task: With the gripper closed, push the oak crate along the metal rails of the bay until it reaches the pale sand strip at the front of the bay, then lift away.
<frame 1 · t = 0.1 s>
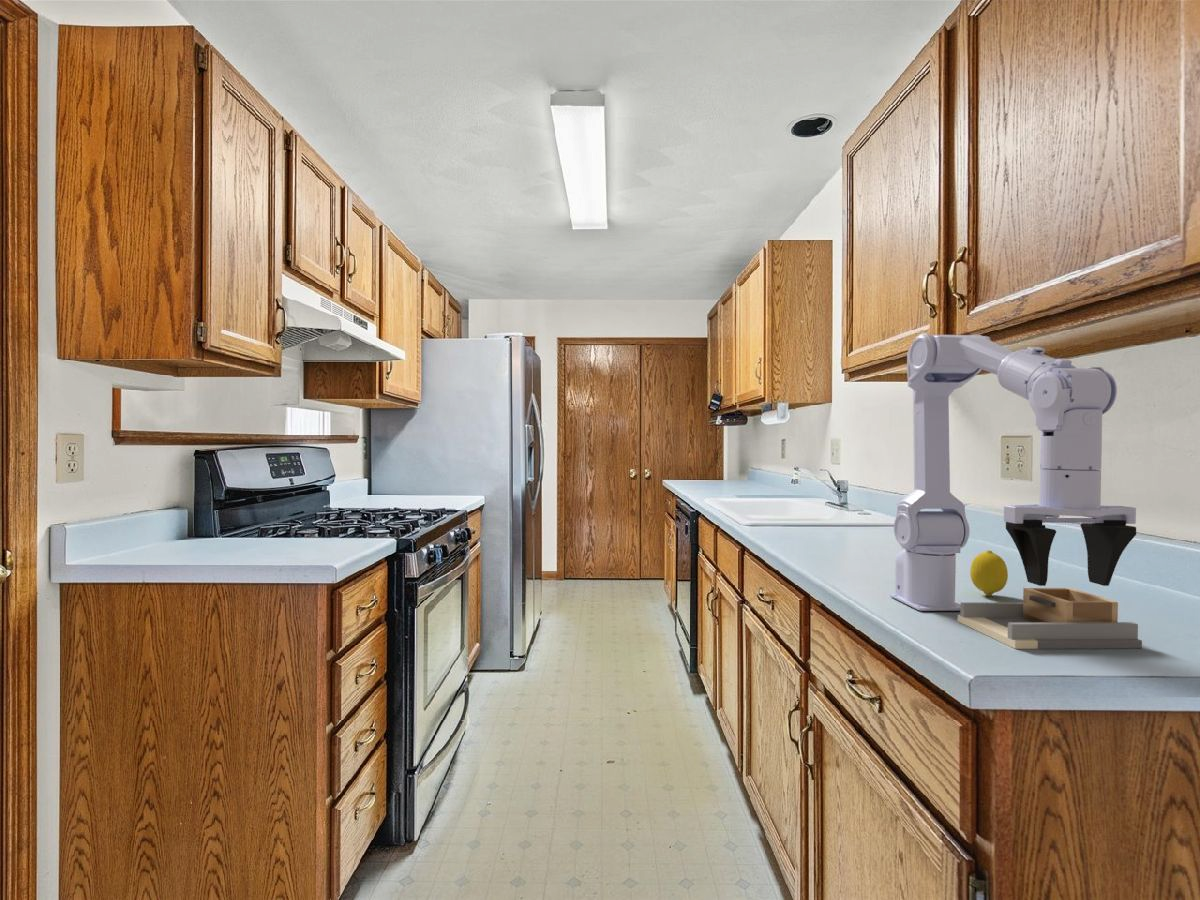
hand: (1067, 583, 72), 10 cm above the counter, tool pointing down, fingers open, 7 cm apart
lemon: (988, 597, 106), on the counter
bay: (1043, 633, 85), on the counter
crate: (1066, 610, 85), point 3 cm above the counter, slide at 0.0 cm
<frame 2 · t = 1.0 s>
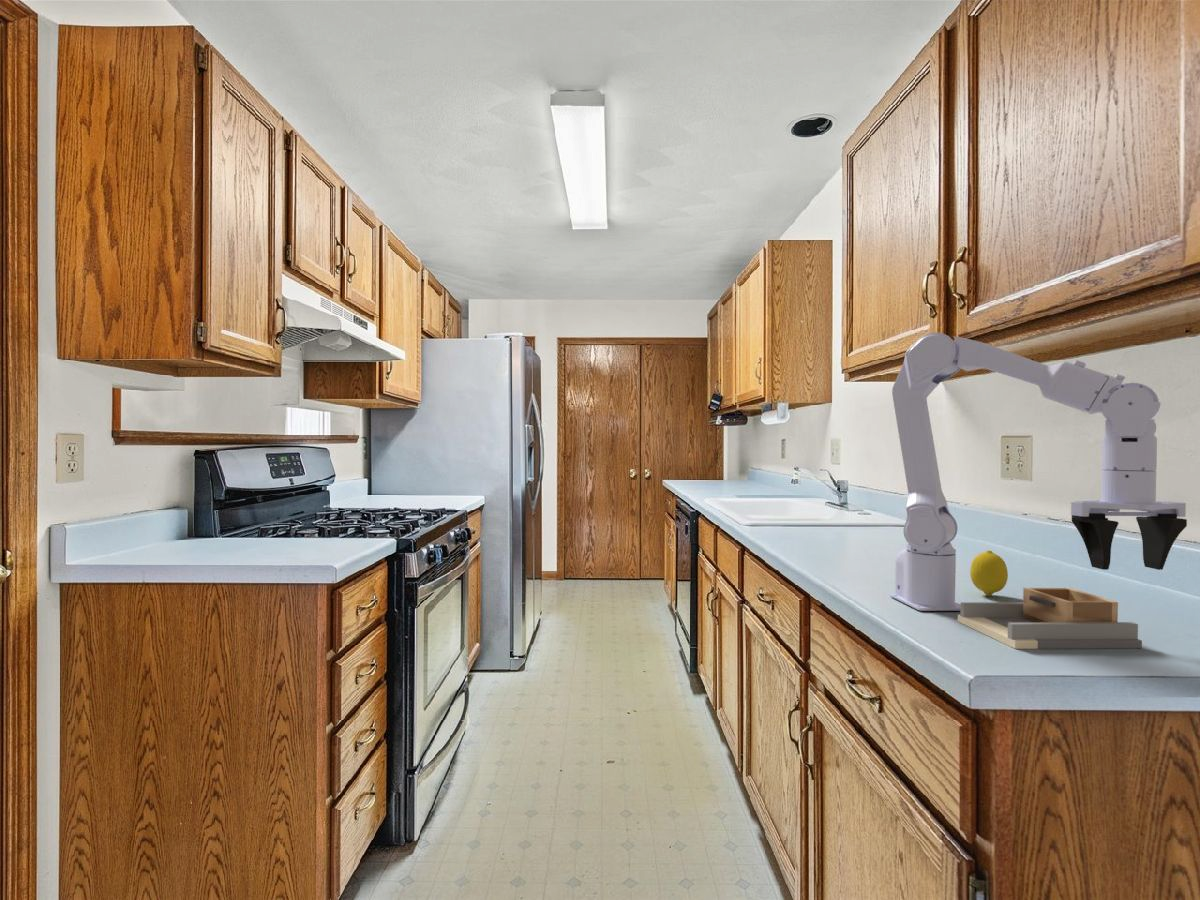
hand: (1126, 568, 84), 9 cm above the counter, tool pointing down, fingers open, 7 cm apart
nothing on the counter moved.
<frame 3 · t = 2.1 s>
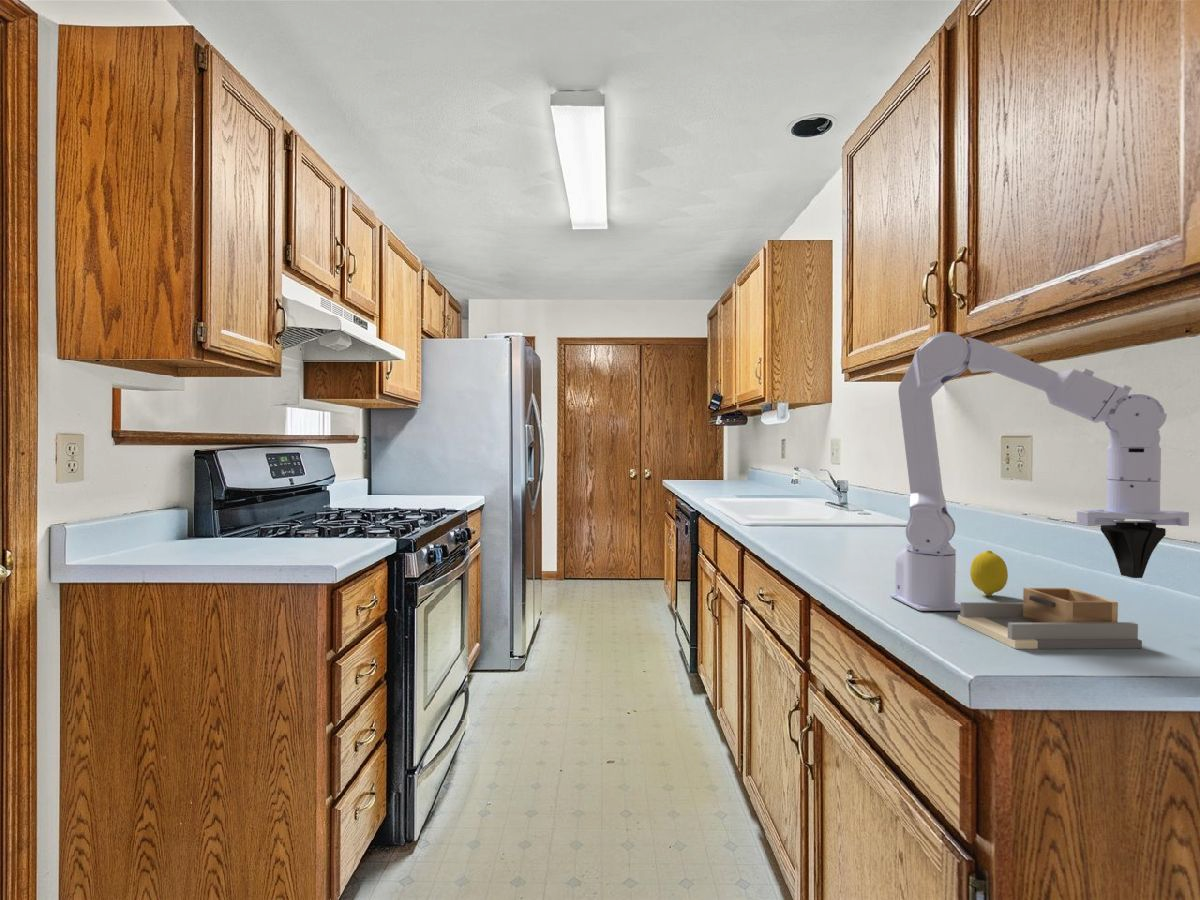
hand: (1131, 576, 85), 8 cm above the counter, tool pointing down, fingers closed
nothing on the counter moved.
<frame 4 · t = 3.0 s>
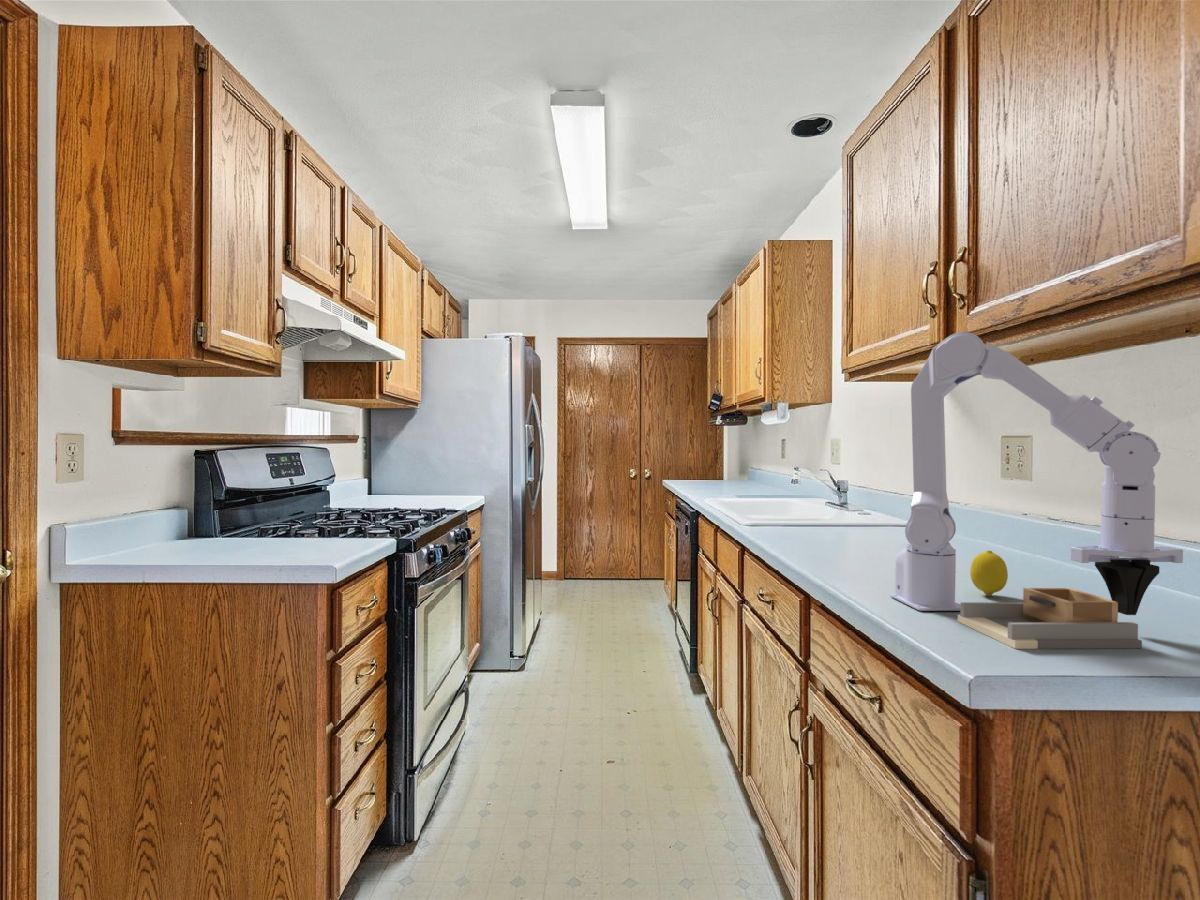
hand: (1125, 613, 85), 3 cm above the counter, tool pointing down, fingers closed
nothing on the counter moved.
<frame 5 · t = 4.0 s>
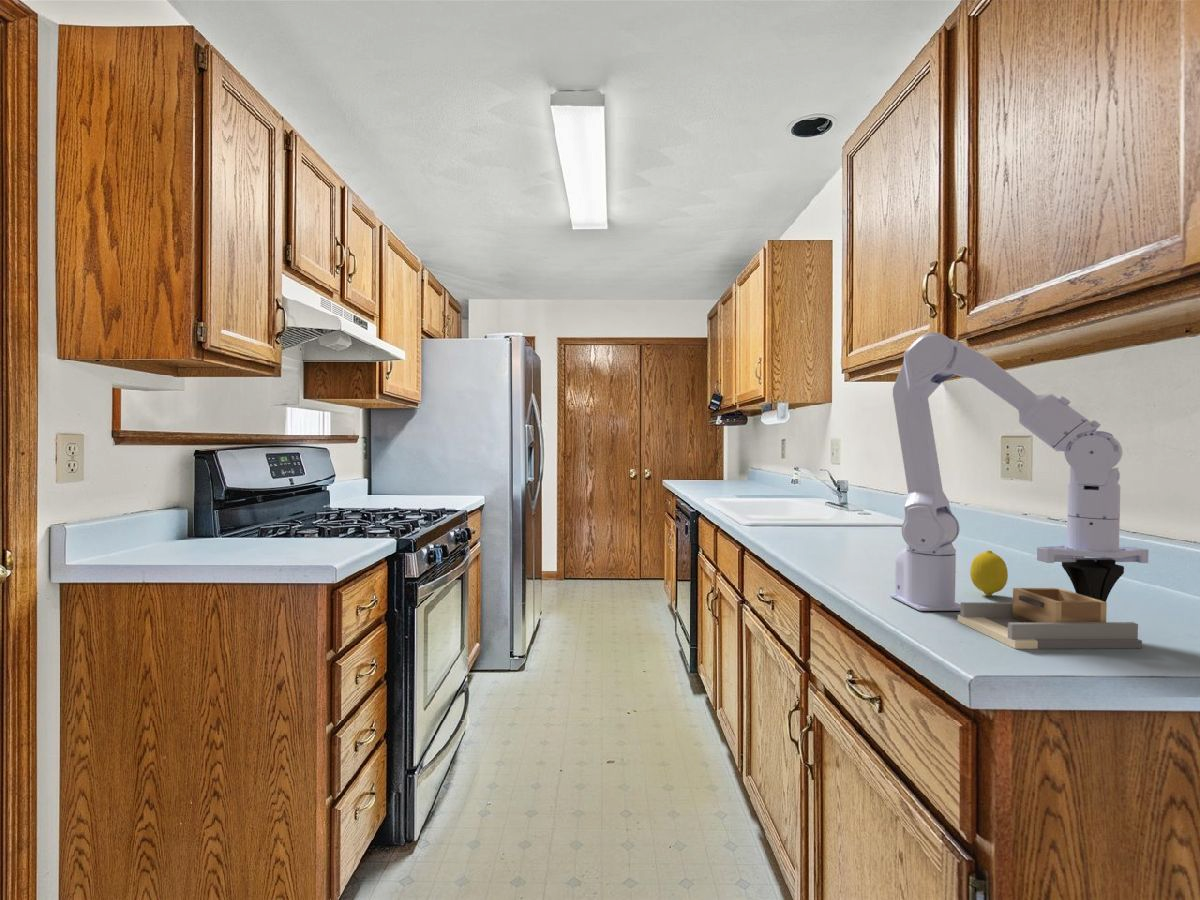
hand: (1091, 613, 85), 3 cm above the counter, tool pointing down, fingers closed
crate: (1055, 610, 85), point 3 cm above the counter, slide at 1.6 cm, touching gripper
everything else where it was.
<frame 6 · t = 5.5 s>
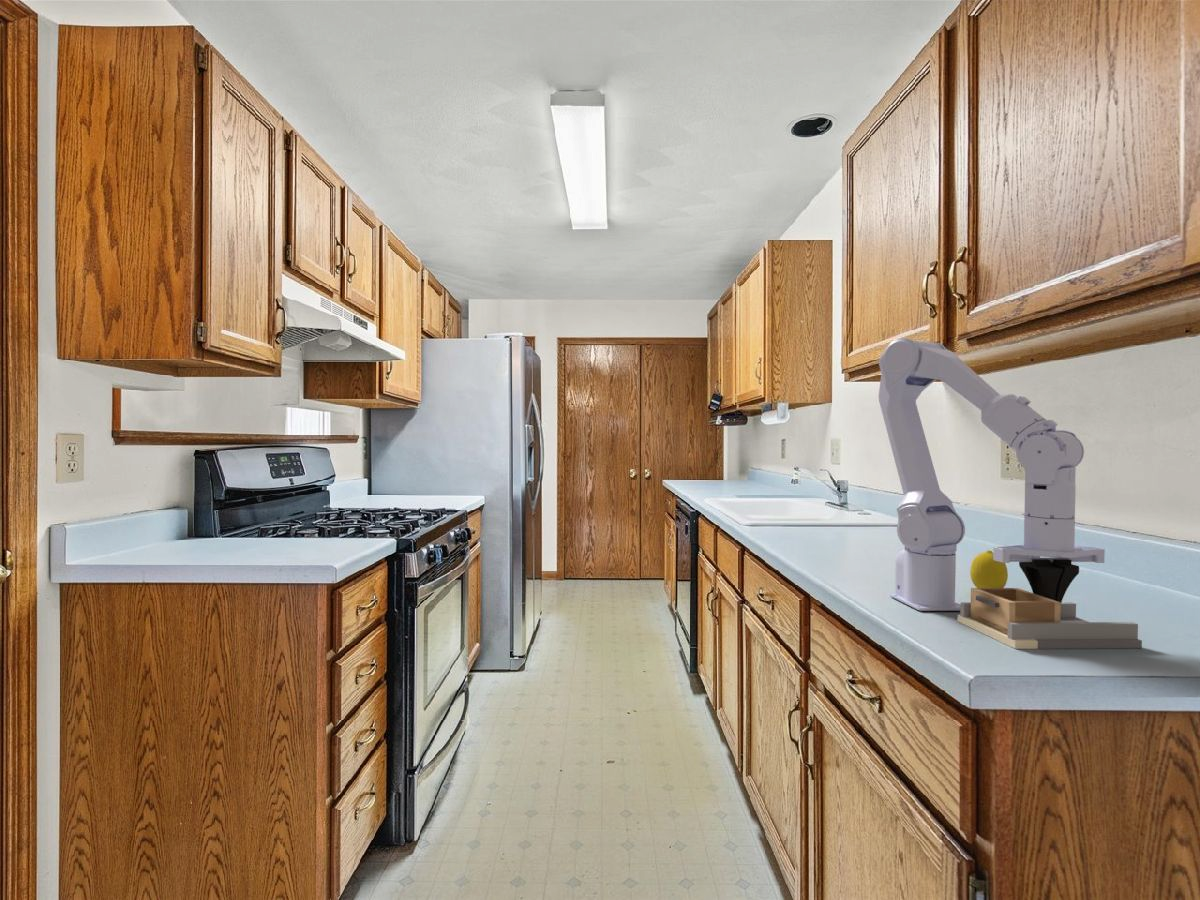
hand: (1047, 613, 85), 3 cm above the counter, tool pointing down, fingers closed
crate: (1011, 610, 85), point 3 cm above the counter, slide at 7.9 cm, touching gripper
everything else where it was.
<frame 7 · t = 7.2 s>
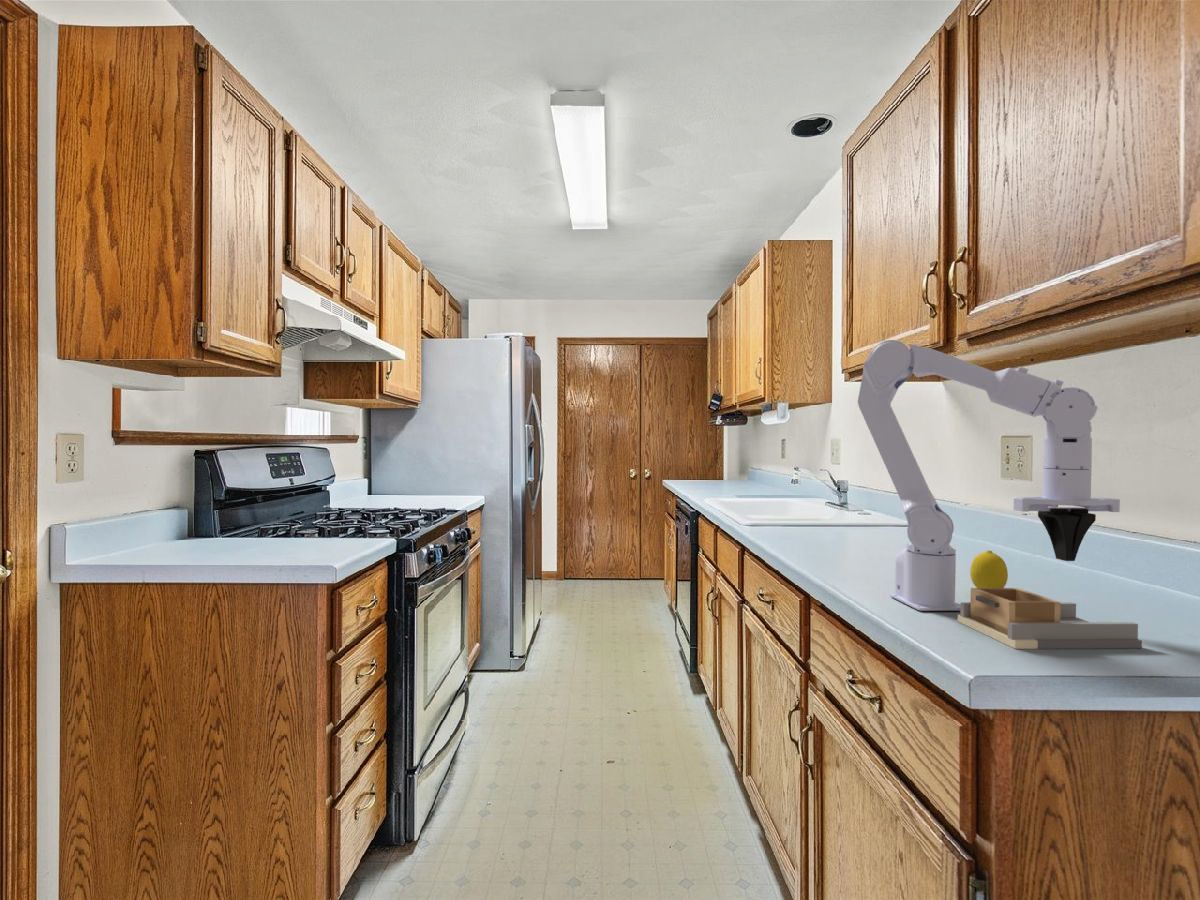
hand: (1065, 559, 91), 9 cm above the counter, tool pointing down, fingers closed
crate: (1011, 610, 85), point 3 cm above the counter, slide at 7.9 cm
everything else where it was.
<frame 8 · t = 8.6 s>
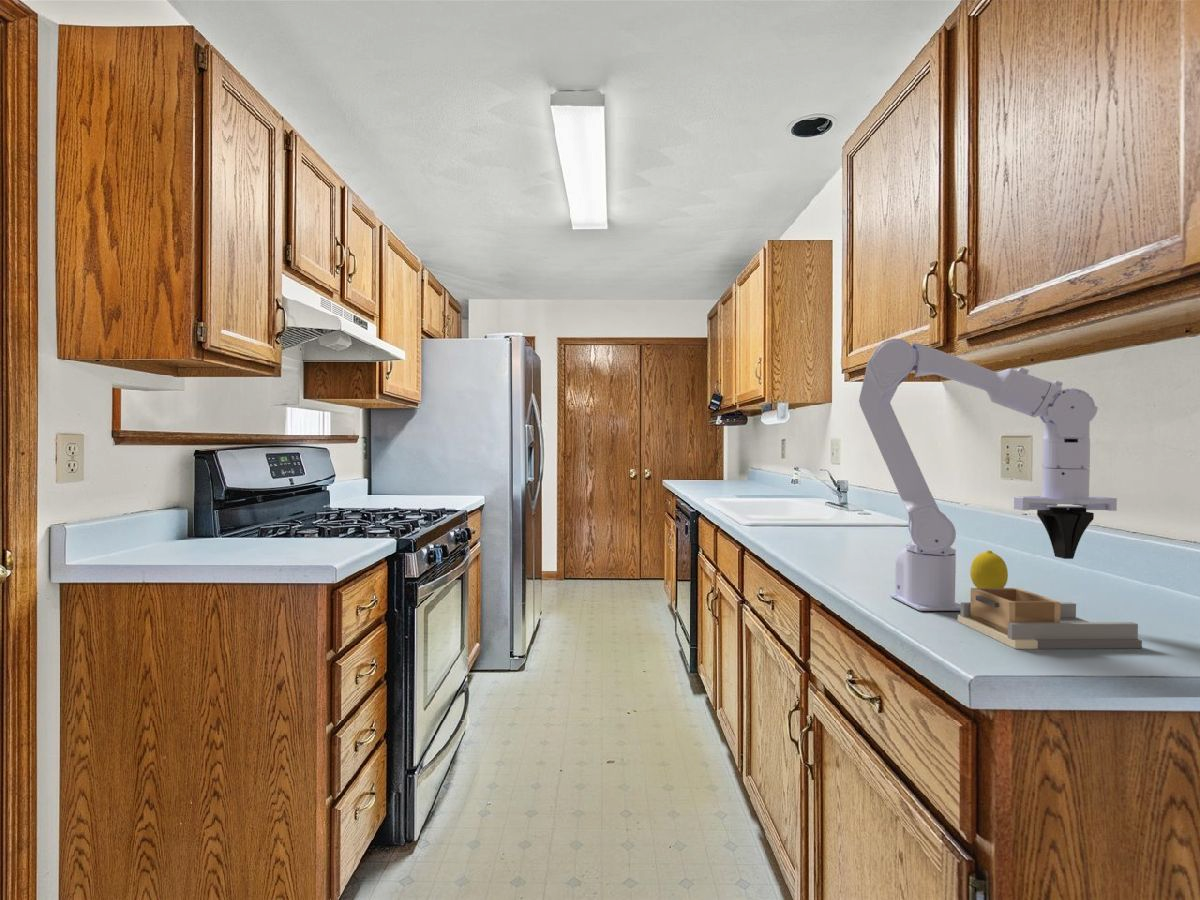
hand: (1063, 557, 92), 9 cm above the counter, tool pointing down, fingers closed
nothing on the counter moved.
at the end: crate slide at 7.9 cm; lemon moved 0.2 cm from its start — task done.
